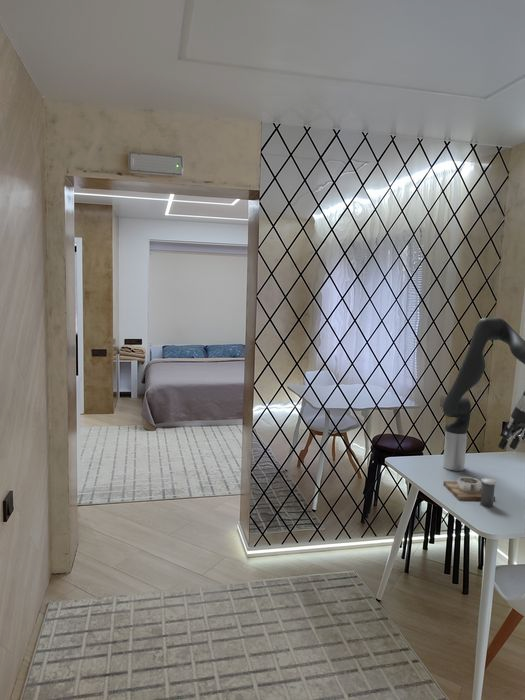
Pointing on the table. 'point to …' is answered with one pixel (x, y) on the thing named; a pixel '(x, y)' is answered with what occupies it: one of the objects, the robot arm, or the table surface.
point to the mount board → (460, 494)
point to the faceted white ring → (468, 484)
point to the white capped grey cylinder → (487, 492)
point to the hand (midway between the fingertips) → (506, 448)
